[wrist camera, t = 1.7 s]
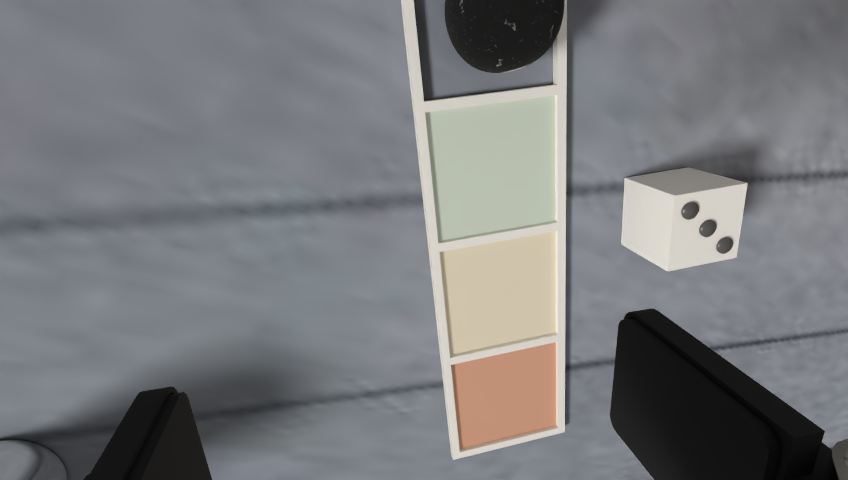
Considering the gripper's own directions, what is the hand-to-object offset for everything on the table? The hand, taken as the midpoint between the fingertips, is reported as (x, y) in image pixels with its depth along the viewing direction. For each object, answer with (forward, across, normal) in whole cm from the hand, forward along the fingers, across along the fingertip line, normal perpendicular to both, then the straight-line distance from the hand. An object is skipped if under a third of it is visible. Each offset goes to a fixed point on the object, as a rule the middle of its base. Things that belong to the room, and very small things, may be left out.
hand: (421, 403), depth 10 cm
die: (+21, -21, +4) cm, 30 cm away
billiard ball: (+21, -8, -9) cm, 24 cm away
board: (+20, -9, +4) cm, 23 cm away
